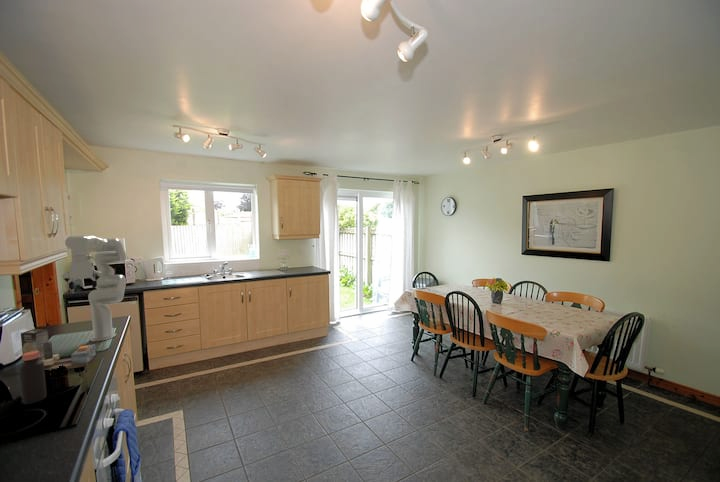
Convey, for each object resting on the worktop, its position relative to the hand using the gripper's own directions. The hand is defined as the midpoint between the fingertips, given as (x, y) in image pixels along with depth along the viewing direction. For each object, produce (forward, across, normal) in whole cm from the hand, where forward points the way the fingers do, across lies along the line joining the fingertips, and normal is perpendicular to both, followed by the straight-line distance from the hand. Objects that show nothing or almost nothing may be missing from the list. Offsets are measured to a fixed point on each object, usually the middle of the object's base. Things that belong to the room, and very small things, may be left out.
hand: (83, 288), depth 172 cm
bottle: (+37, +1, +52) cm, 64 cm away
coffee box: (+37, +22, 0) cm, 43 cm away
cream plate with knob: (+34, +11, +16) cm, 39 cm away
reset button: (+31, -3, +16) cm, 35 cm away
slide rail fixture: (+37, +5, +16) cm, 40 cm away
